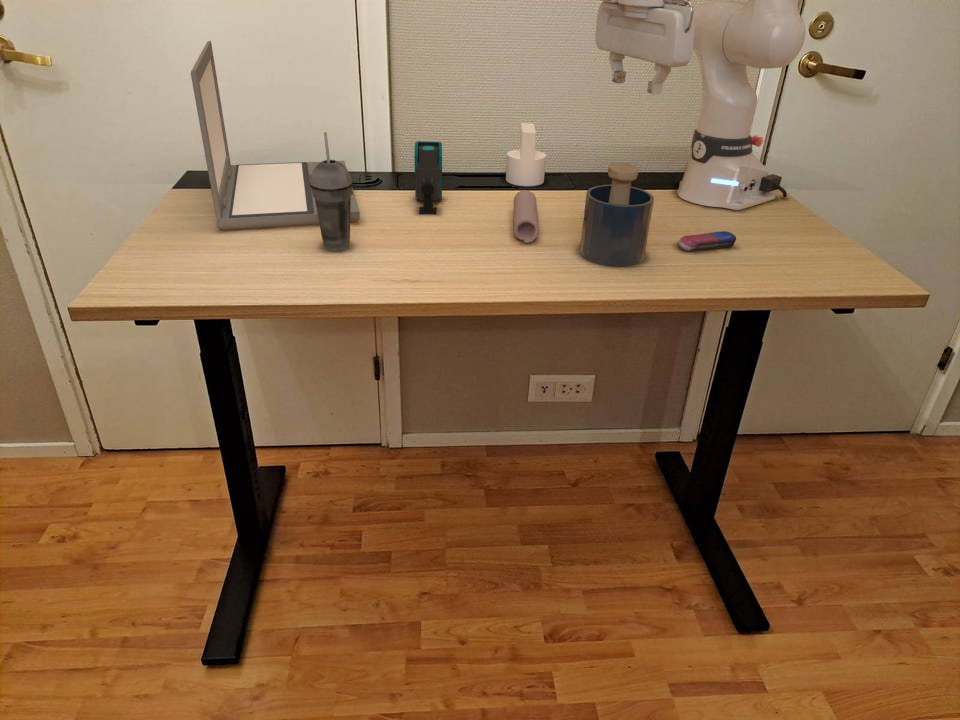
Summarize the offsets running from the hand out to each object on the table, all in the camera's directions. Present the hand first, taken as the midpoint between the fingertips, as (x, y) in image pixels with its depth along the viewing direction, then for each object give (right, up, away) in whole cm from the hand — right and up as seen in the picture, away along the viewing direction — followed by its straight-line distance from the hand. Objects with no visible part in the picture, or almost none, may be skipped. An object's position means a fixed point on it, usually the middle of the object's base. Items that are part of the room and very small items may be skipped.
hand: (635, 88), depth 113 cm
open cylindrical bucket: (-1, -25, +14) cm, 29 cm away
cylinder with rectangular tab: (-15, -2, +50) cm, 52 cm away
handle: (-1, -24, +14) cm, 28 cm away
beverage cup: (-51, -24, +13) cm, 58 cm away
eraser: (+18, -23, +19) cm, 34 cm away
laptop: (-66, -10, +34) cm, 75 cm away
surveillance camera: (-36, -12, +33) cm, 50 cm away
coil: (-16, -18, +25) cm, 35 cm away
